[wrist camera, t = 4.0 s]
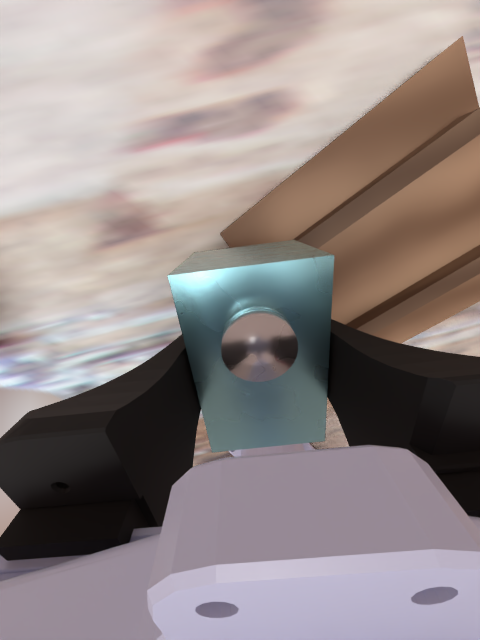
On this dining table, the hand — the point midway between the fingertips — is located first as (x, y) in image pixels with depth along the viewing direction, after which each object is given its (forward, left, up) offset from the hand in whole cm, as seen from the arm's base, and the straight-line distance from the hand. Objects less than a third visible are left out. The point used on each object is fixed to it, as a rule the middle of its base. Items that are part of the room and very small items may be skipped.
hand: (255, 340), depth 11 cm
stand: (-3, -9, -8) cm, 13 cm away
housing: (0, 0, -2) cm, 2 cm away
